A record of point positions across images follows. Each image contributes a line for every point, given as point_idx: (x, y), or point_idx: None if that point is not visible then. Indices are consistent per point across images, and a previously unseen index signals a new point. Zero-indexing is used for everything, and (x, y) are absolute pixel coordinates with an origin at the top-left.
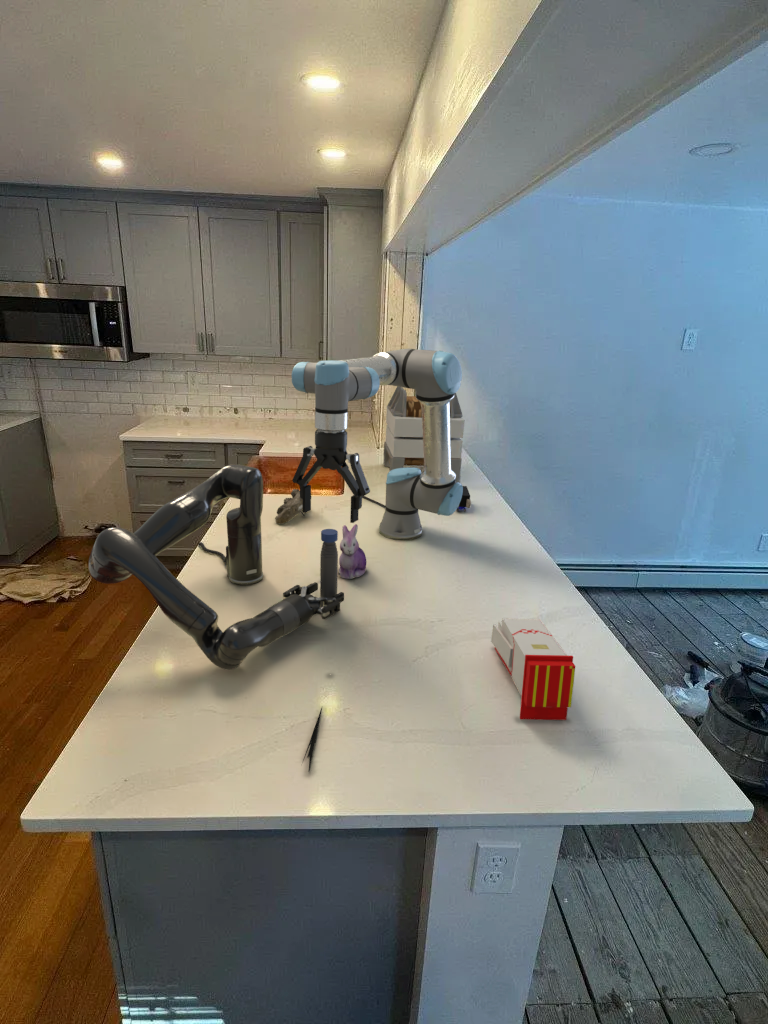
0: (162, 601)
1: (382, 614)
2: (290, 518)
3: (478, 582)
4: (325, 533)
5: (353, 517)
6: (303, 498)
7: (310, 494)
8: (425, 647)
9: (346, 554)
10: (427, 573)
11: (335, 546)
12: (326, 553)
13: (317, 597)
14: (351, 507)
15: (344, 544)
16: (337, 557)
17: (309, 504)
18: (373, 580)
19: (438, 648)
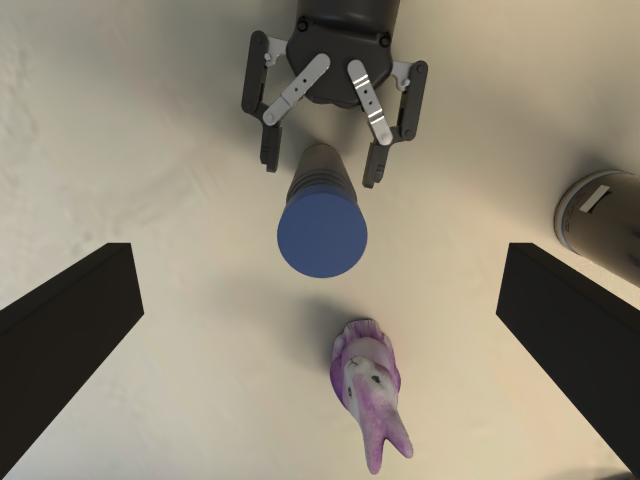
0: None
1: (199, 213)
2: None
3: (98, 426)
4: (328, 205)
5: (83, 264)
6: (610, 300)
7: (575, 397)
8: (36, 125)
9: (361, 356)
10: (209, 417)
11: None
12: (316, 175)
13: (310, 86)
14: (37, 300)
15: (376, 381)
16: None
17: (524, 323)
18: (298, 341)
19: (10, 136)
